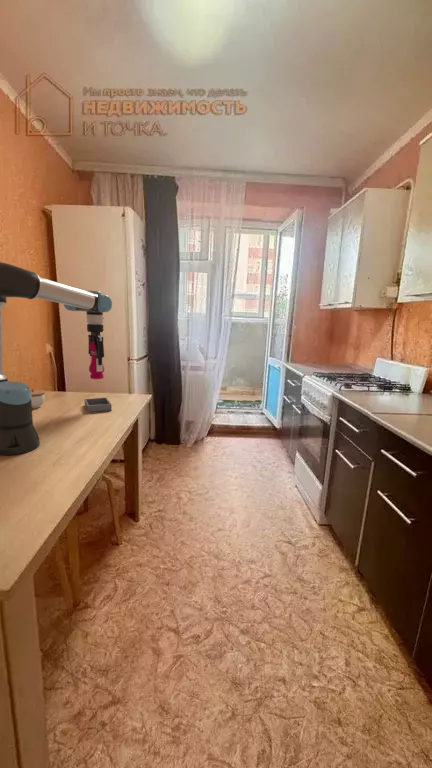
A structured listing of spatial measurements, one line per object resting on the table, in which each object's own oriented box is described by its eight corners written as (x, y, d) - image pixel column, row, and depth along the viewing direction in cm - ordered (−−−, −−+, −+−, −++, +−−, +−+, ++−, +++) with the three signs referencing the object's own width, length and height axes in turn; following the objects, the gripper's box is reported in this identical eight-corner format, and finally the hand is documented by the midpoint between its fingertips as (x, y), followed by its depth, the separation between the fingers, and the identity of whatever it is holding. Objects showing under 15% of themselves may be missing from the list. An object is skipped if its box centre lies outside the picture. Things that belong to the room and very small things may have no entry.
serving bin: (111, 410, 172) (111, 404, 172) (88, 413, 167) (88, 406, 167) (106, 403, 184) (106, 397, 184) (84, 405, 179) (84, 399, 179)
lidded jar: (38, 410, 168) (37, 391, 166) (17, 409, 168) (15, 390, 166) (49, 404, 179) (48, 386, 177) (29, 403, 179) (27, 386, 177)
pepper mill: (86, 378, 170) (84, 338, 165) (93, 376, 177) (92, 337, 172) (100, 379, 169) (98, 339, 164) (107, 377, 176) (106, 337, 171)
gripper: (110, 325, 162) (112, 372, 167) (95, 322, 177) (96, 366, 182) (95, 324, 157) (96, 374, 162) (80, 322, 172) (82, 367, 177)
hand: (96, 369), depth 172 cm, fingers closed on pepper mill, 7 cm apart
